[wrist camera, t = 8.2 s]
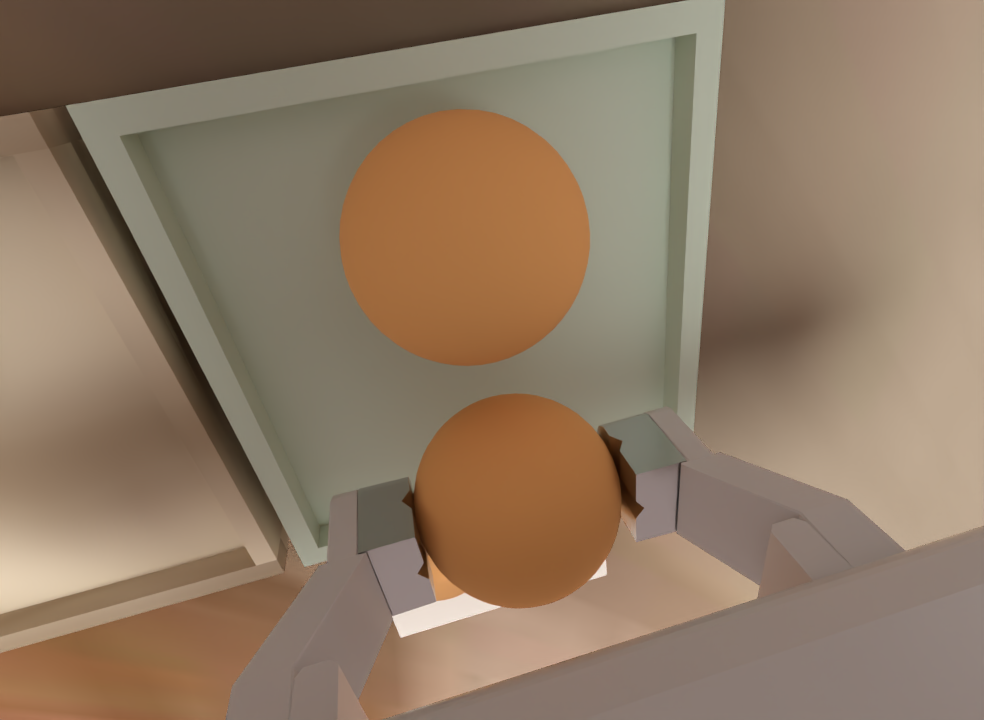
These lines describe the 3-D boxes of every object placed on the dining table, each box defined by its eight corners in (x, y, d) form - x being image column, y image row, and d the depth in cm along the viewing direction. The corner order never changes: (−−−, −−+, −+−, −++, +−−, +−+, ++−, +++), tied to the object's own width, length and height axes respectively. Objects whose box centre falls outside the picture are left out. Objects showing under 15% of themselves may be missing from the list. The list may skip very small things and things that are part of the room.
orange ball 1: (313, 123, 9) (287, 160, 6) (534, 82, 9) (634, 93, 6) (373, 326, 11) (381, 443, 8) (553, 284, 12) (635, 377, 8)
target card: (356, 523, 14) (357, 535, 14) (597, 458, 15) (602, 466, 15) (399, 629, 17) (400, 640, 17) (603, 567, 18) (607, 577, 17)
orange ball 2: (385, 383, 11) (399, 533, 7) (571, 338, 11) (665, 459, 8) (426, 517, 13) (451, 682, 9) (581, 474, 13) (658, 617, 10)
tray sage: (99, 100, 9) (65, 105, 8) (687, 0, 10) (725, -6, 9) (308, 530, 14) (304, 566, 13) (669, 431, 15) (691, 457, 14)
